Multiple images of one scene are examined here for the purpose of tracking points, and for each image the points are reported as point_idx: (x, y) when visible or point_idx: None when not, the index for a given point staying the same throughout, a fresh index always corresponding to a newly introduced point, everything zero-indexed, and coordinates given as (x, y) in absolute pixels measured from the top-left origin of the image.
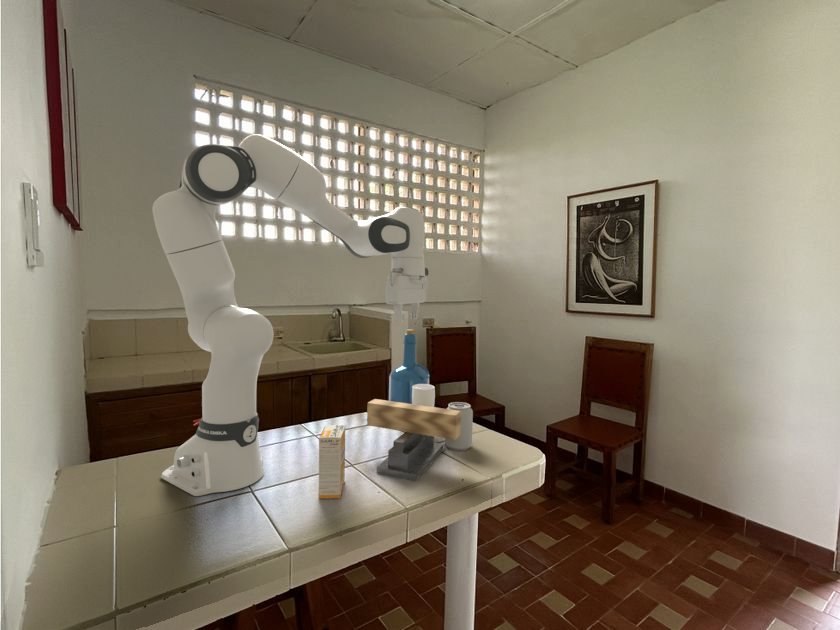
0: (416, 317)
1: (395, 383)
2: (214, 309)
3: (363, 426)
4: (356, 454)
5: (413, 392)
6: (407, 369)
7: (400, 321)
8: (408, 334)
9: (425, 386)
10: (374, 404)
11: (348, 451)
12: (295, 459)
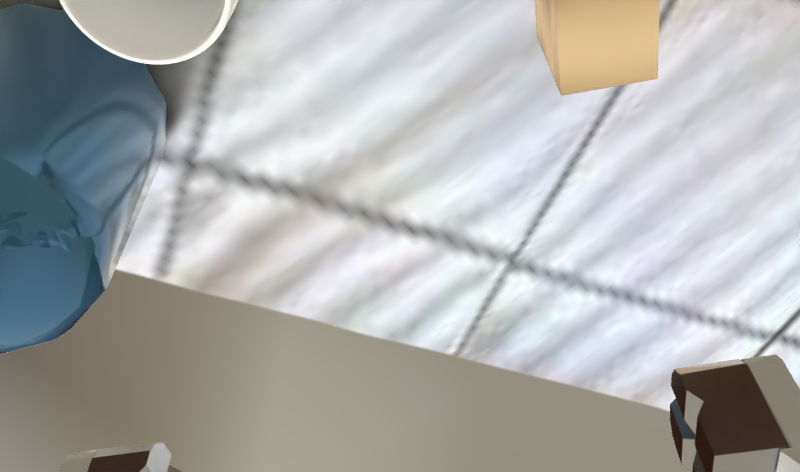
0: (96, 462)
1: (113, 241)
2: None
3: (312, 191)
4: None
5: (234, 8)
6: (2, 258)
7: (773, 357)
8: None
9: (76, 4)
10: (656, 30)
11: None
12: (740, 160)
